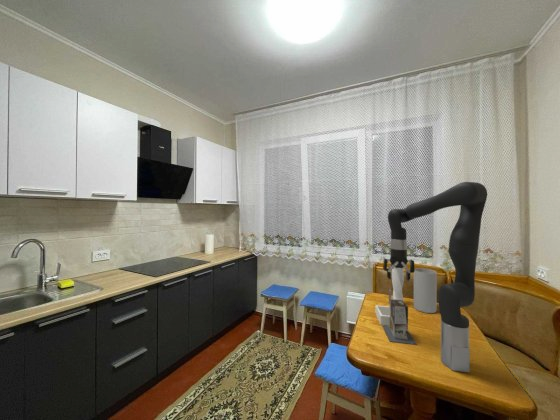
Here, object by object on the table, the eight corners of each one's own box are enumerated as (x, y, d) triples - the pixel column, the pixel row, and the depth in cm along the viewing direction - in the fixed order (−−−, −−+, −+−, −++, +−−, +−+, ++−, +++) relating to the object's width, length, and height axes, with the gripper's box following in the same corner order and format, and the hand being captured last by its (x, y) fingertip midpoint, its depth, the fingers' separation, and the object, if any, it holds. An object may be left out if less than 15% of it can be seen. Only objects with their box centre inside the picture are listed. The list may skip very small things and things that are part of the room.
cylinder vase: (433, 306, 149) (433, 269, 149) (439, 315, 137) (439, 274, 137) (411, 304, 153) (411, 267, 153) (415, 311, 142) (416, 272, 142)
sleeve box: (402, 326, 123) (402, 317, 123) (380, 324, 125) (380, 315, 125) (394, 315, 137) (394, 307, 137) (375, 313, 139) (375, 305, 139)
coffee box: (408, 339, 110) (408, 307, 110) (394, 338, 111) (394, 305, 111) (402, 330, 119) (402, 299, 119) (389, 328, 120) (389, 298, 120)
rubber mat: (417, 344, 107) (417, 344, 107) (389, 341, 109) (389, 340, 109) (406, 328, 121) (406, 327, 121) (382, 326, 124) (382, 325, 124)
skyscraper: (394, 300, 159) (395, 261, 159) (406, 304, 152) (406, 263, 152) (387, 303, 154) (388, 262, 154) (399, 307, 148) (399, 265, 148)
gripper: (385, 248, 113) (385, 280, 113) (416, 249, 110) (416, 282, 110) (381, 246, 121) (381, 276, 121) (411, 247, 118) (411, 278, 118)
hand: (398, 279), depth 115 cm, fingers open, 8 cm apart
